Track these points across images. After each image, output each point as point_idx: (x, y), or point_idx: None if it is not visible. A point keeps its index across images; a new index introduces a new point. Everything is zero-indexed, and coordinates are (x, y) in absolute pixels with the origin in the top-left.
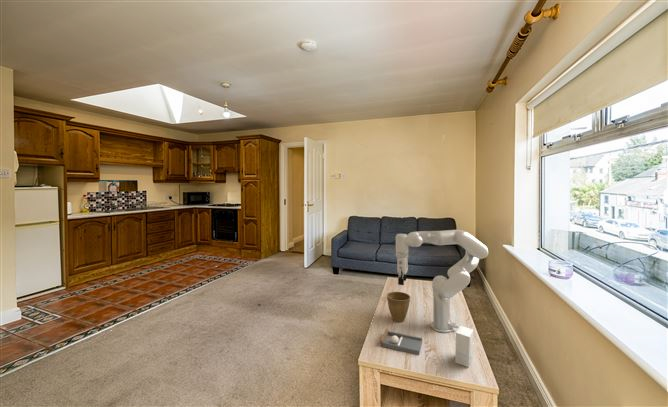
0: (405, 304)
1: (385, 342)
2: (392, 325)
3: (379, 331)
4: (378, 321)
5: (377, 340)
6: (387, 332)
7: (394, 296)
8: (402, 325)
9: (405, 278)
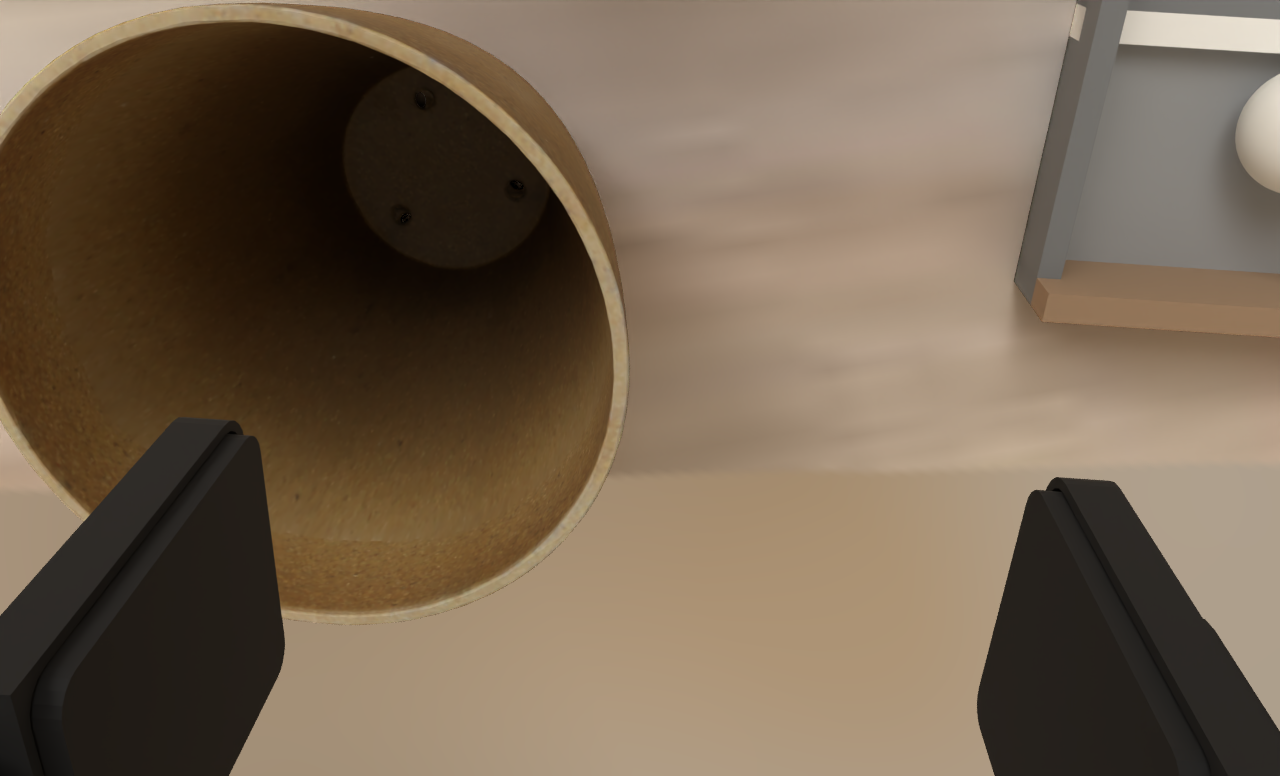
0: (524, 102)
1: (1277, 259)
2: (690, 235)
3: (943, 393)
4: (631, 457)
5: (1215, 375)
6: (1089, 282)
7: (134, 423)
8: (632, 66)
9: (203, 521)
